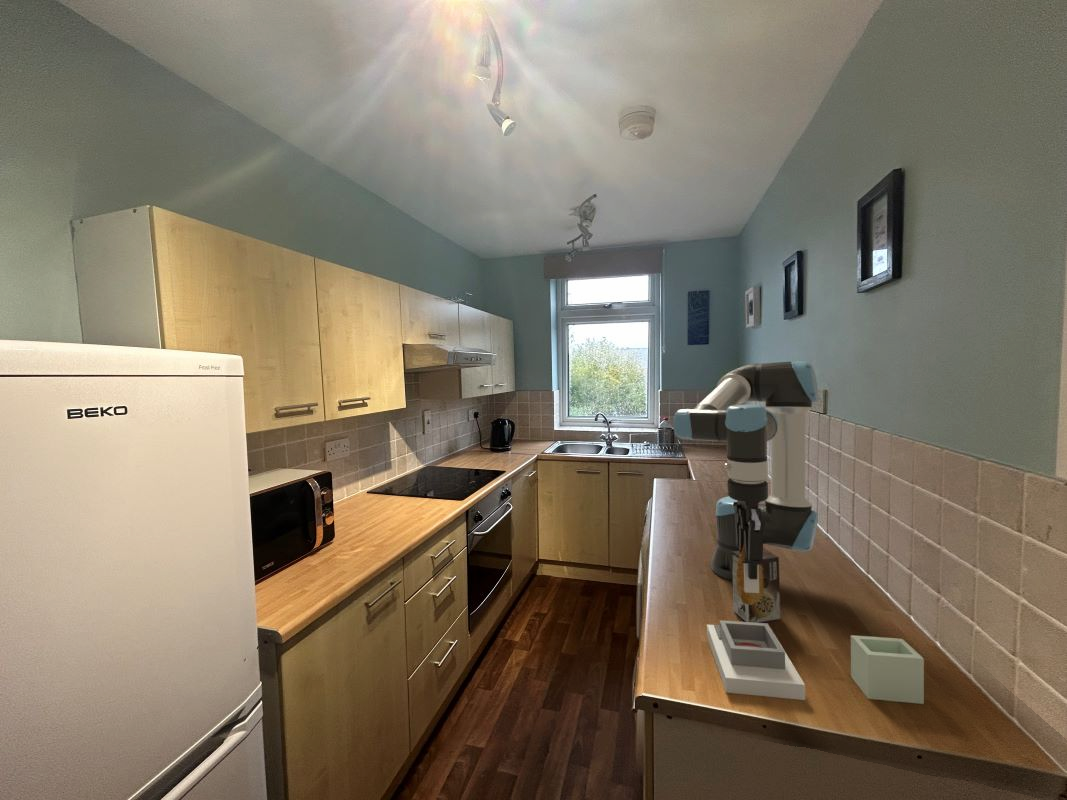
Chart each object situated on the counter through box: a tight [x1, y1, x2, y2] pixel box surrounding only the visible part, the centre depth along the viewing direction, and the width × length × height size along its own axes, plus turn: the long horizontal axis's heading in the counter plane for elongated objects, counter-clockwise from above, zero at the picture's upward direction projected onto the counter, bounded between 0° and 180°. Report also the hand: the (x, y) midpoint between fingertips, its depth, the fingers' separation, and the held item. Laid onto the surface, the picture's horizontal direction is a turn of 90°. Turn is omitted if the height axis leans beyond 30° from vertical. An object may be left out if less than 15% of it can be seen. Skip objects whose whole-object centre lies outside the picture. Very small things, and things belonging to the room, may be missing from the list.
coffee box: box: [732, 547, 782, 623], centre depth 108 cm, size 9×6×16 cm
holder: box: [850, 634, 925, 705], centre depth 82 cm, size 6×9×9 cm, turn 79°
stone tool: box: [736, 546, 764, 605], centre depth 89 cm, size 5×2×15 cm, turn 81°
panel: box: [706, 619, 806, 701], centre depth 90 cm, size 18×14×6 cm
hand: (749, 588), depth 90 cm, fingers closed on stone tool, 2 cm apart
